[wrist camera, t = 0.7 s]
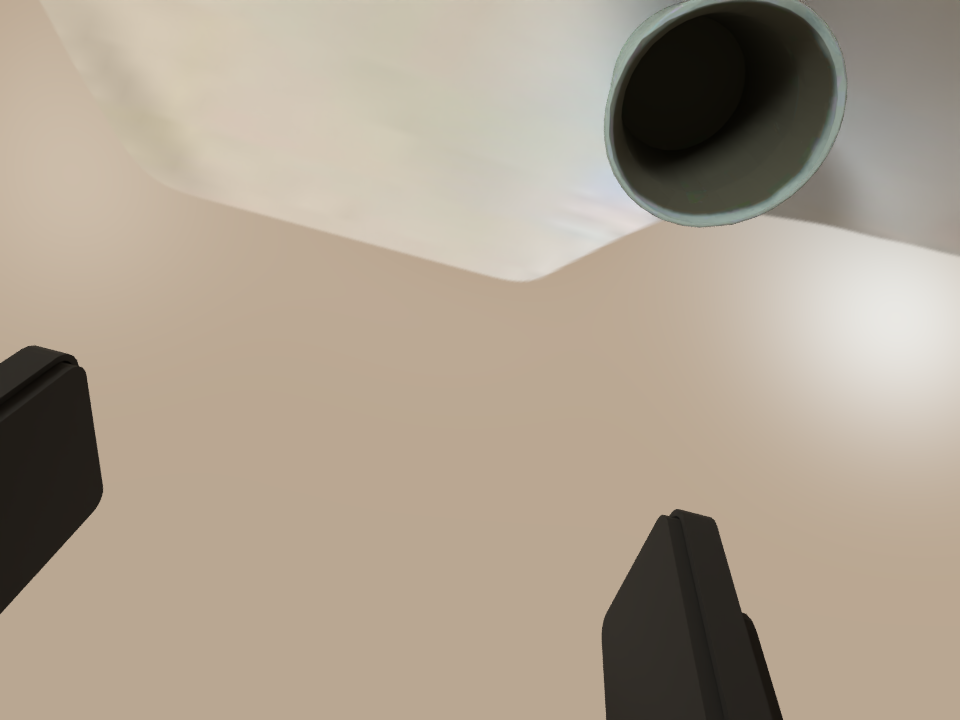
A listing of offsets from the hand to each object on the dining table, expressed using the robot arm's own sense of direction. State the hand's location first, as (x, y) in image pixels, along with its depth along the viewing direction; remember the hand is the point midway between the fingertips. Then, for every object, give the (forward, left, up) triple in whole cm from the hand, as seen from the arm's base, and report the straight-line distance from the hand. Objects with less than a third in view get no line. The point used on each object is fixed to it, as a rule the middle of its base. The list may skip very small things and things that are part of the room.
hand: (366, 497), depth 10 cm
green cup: (+3, +10, -35) cm, 36 cm away
